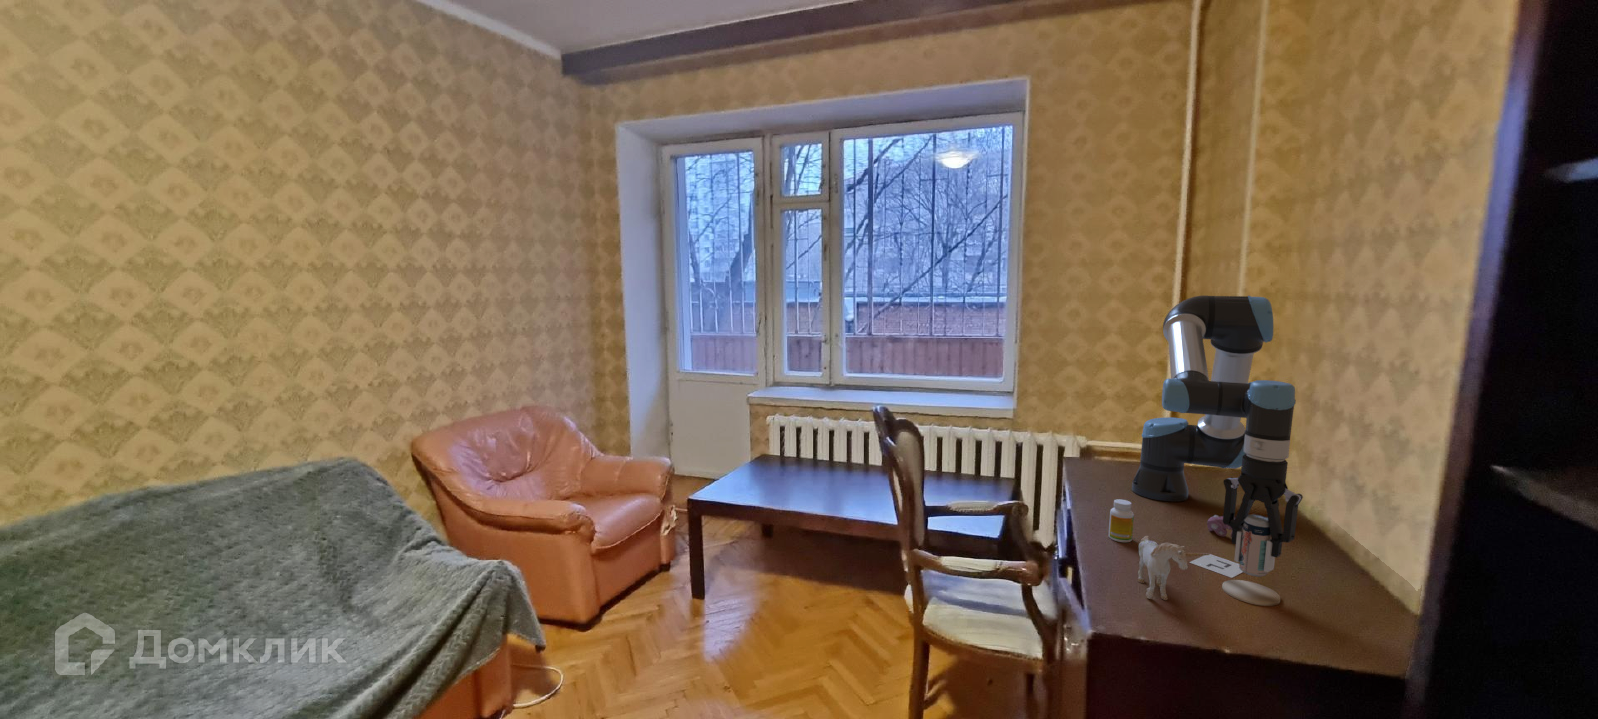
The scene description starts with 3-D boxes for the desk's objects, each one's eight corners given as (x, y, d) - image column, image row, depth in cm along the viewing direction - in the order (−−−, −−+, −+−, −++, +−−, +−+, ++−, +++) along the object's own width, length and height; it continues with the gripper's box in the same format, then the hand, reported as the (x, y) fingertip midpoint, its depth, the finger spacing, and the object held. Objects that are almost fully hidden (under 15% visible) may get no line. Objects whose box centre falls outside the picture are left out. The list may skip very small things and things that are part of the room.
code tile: (1208, 553, 154) (1208, 553, 154) (1250, 568, 147) (1250, 567, 147) (1189, 562, 149) (1189, 562, 149) (1231, 577, 142) (1231, 577, 142)
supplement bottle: (1134, 543, 160) (1137, 506, 158) (1111, 541, 161) (1114, 504, 159) (1128, 535, 165) (1131, 498, 164) (1105, 533, 166) (1108, 497, 165)
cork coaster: (1235, 578, 142) (1235, 575, 142) (1288, 597, 133) (1289, 594, 133) (1213, 590, 136) (1213, 587, 136) (1267, 610, 128) (1267, 608, 128)
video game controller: (1205, 538, 167) (1205, 518, 164) (1209, 526, 170) (1209, 507, 167) (1251, 549, 160) (1251, 529, 157) (1254, 536, 163) (1255, 516, 160)
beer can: (1241, 565, 137) (1247, 511, 136) (1269, 572, 134) (1274, 518, 132) (1236, 572, 134) (1242, 517, 133) (1264, 580, 131) (1270, 524, 129)
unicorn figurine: (1167, 619, 125) (1173, 554, 123) (1115, 572, 144) (1119, 515, 142) (1203, 618, 125) (1210, 553, 123) (1146, 572, 144) (1151, 515, 142)
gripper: (1209, 449, 136) (1199, 553, 139) (1310, 470, 121) (1296, 587, 124) (1226, 444, 140) (1216, 545, 143) (1325, 464, 125) (1312, 577, 128)
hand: (1253, 564), depth 134 cm, fingers closed on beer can, 5 cm apart
